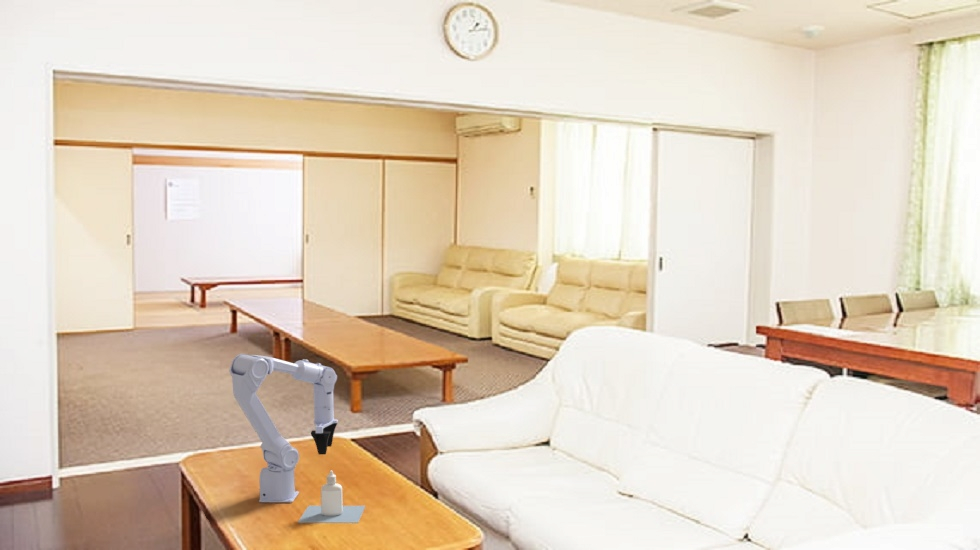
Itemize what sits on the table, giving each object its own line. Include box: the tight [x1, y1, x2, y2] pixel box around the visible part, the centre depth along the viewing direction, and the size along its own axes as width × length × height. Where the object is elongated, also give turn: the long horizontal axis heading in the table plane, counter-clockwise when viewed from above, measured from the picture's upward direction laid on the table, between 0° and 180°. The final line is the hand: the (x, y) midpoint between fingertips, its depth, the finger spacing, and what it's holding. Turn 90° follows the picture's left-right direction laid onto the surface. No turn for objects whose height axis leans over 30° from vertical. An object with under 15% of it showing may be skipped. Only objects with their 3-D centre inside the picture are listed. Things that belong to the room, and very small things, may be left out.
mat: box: [297, 505, 366, 524], centre depth 221 cm, size 16×12×1 cm
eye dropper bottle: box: [320, 470, 344, 516], centre depth 221 cm, size 4×6×12 cm
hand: (325, 450), depth 244 cm, fingers open, 7 cm apart
